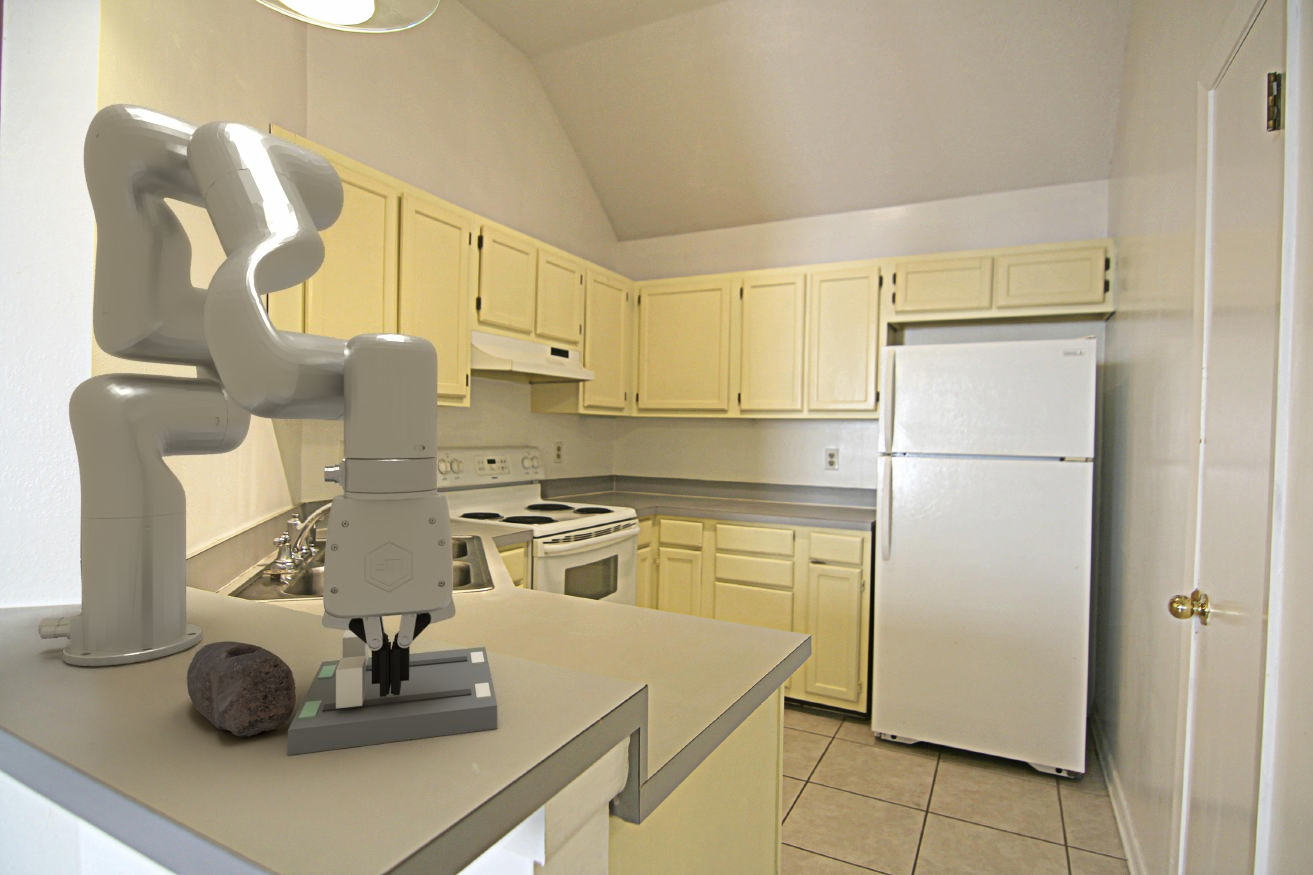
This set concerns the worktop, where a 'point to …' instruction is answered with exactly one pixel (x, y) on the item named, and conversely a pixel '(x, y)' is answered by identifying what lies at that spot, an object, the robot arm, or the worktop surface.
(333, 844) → the worktop surface
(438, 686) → the slider switch panel
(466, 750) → the worktop surface
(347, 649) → the block
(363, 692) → the block
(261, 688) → the perforated stone tool
